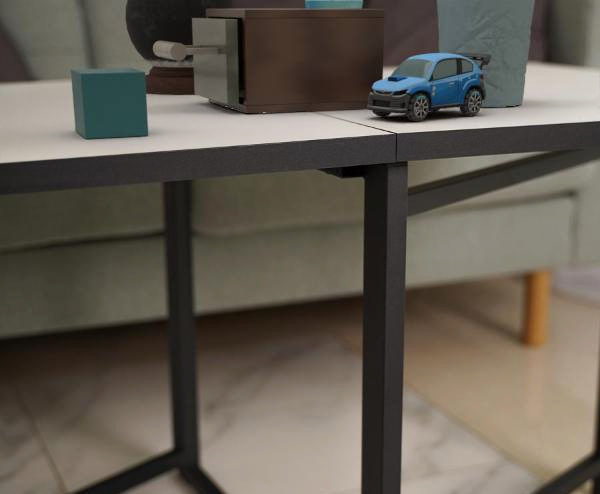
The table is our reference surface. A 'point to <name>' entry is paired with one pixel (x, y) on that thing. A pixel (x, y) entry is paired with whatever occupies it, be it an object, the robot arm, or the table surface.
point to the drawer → (212, 58)
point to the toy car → (431, 86)
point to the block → (109, 102)
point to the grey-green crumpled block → (490, 42)
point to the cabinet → (308, 58)
